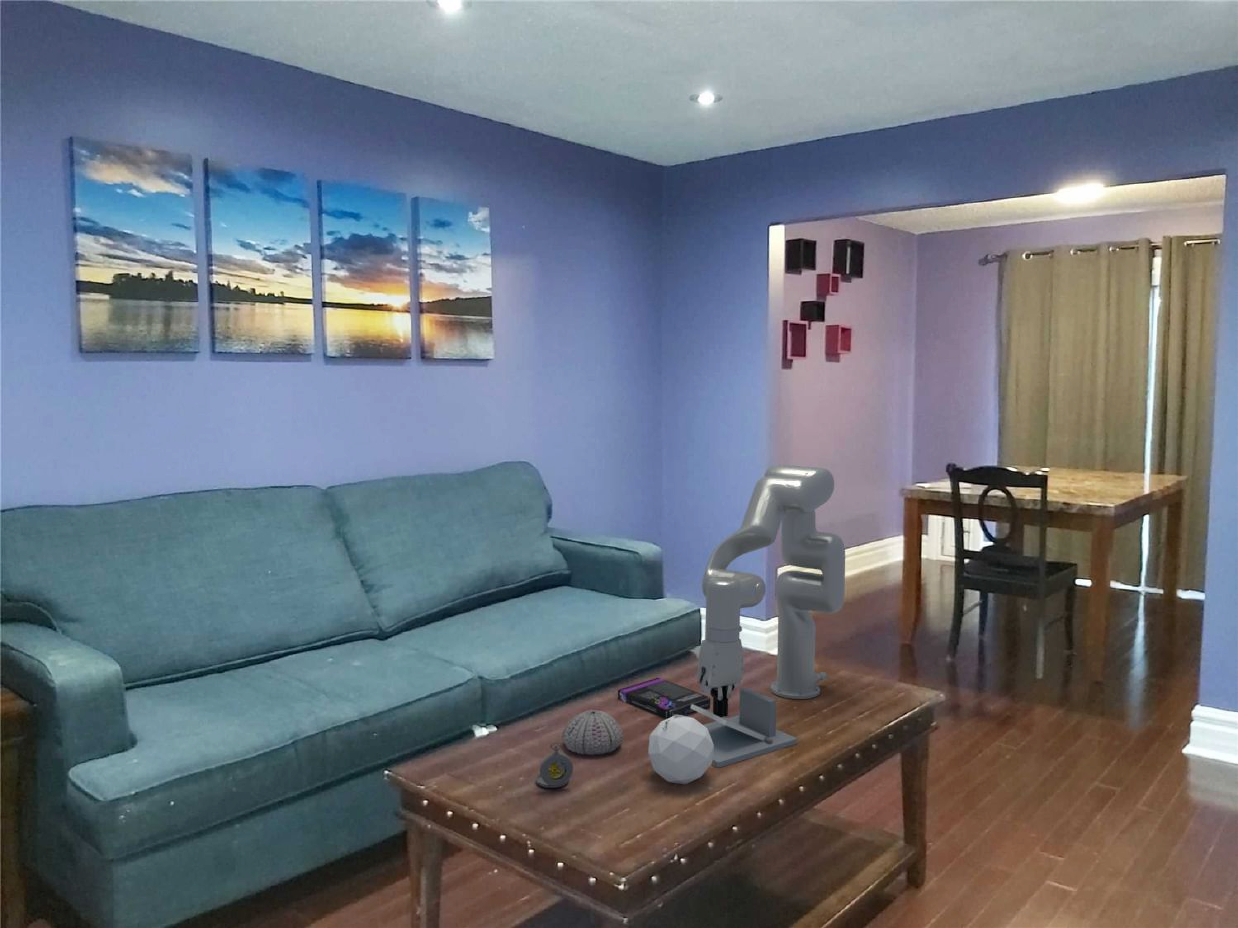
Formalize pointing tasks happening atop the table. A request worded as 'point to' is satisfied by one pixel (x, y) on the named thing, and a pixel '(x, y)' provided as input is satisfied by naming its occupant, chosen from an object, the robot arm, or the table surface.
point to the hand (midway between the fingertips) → (720, 714)
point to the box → (663, 698)
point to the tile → (728, 722)
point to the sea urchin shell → (592, 733)
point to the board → (756, 717)
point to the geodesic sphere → (680, 749)
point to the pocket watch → (555, 769)
